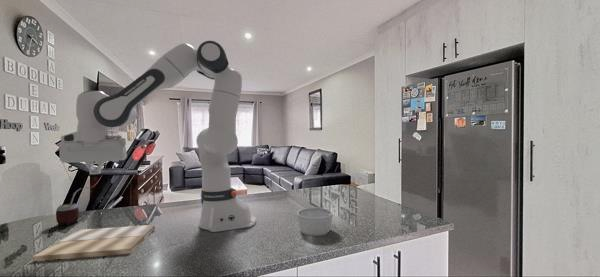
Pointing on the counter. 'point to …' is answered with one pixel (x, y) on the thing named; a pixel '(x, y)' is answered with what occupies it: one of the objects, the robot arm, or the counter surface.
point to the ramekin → (314, 221)
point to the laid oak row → (89, 248)
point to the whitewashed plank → (110, 233)
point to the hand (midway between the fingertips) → (95, 173)
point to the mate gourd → (67, 213)
